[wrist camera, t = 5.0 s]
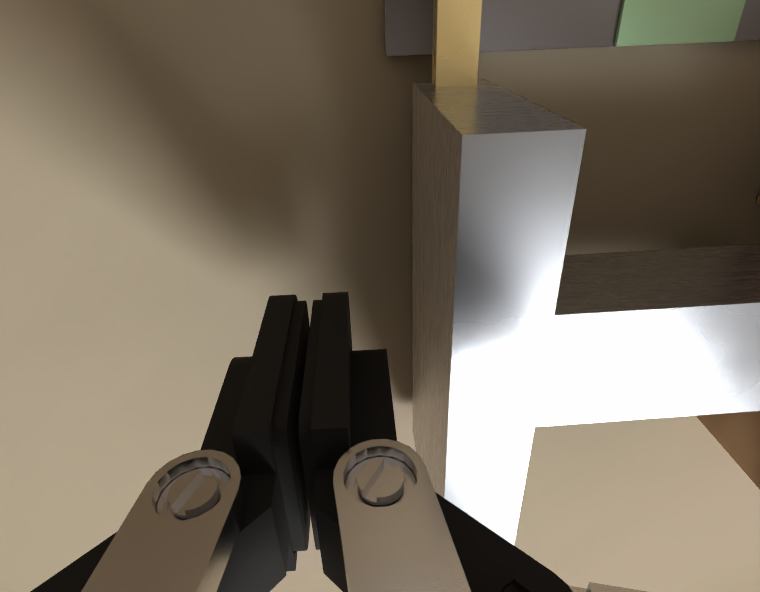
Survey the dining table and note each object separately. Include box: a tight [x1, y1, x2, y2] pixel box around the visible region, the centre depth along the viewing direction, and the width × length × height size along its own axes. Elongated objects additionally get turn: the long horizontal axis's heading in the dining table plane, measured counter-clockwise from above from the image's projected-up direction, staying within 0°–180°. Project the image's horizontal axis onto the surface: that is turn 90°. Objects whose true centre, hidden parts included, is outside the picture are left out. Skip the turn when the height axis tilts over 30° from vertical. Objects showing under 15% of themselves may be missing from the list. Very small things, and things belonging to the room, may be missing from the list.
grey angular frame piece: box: [413, 0, 760, 545], centre depth 10 cm, size 12×10×5 cm
